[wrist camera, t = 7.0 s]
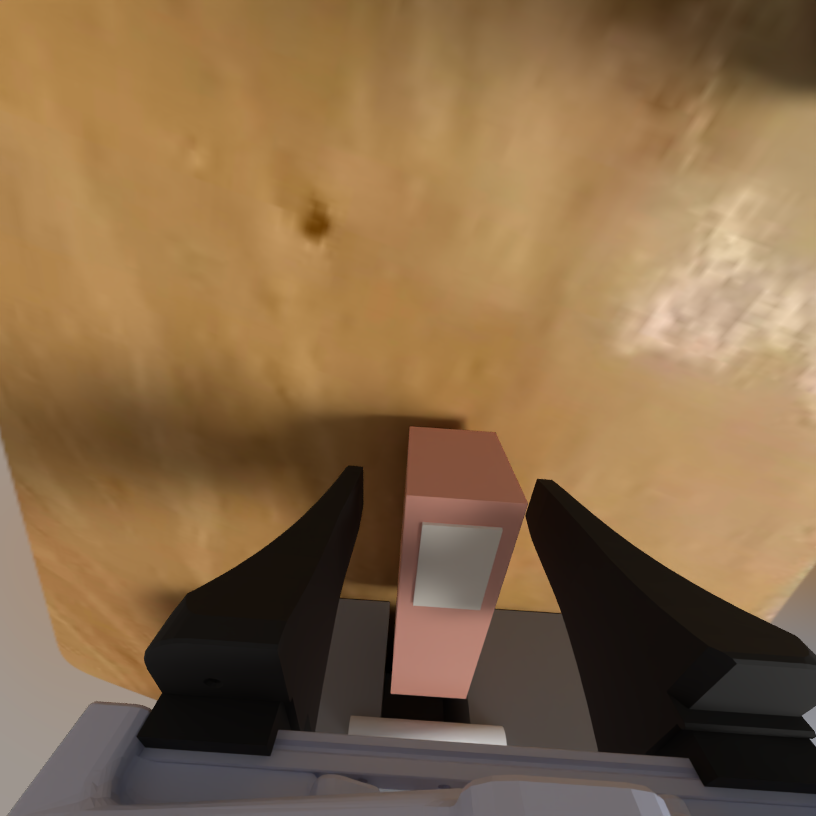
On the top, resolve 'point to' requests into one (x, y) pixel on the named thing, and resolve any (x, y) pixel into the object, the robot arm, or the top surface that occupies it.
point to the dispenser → (488, 693)
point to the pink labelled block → (451, 556)
